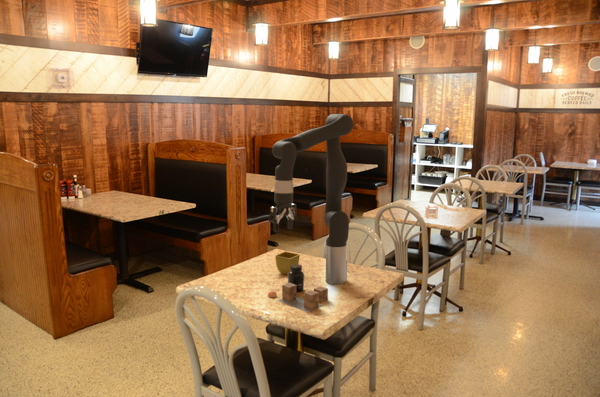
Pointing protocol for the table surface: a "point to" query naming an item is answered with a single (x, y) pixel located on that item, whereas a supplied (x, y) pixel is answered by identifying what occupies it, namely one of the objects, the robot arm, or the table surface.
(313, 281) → the table surface
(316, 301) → the block
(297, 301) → the slate board
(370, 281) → the table surface
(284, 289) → the block
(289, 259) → the flower pot
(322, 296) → the loose block
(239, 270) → the table surface
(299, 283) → the supplement bottle
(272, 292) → the ball
